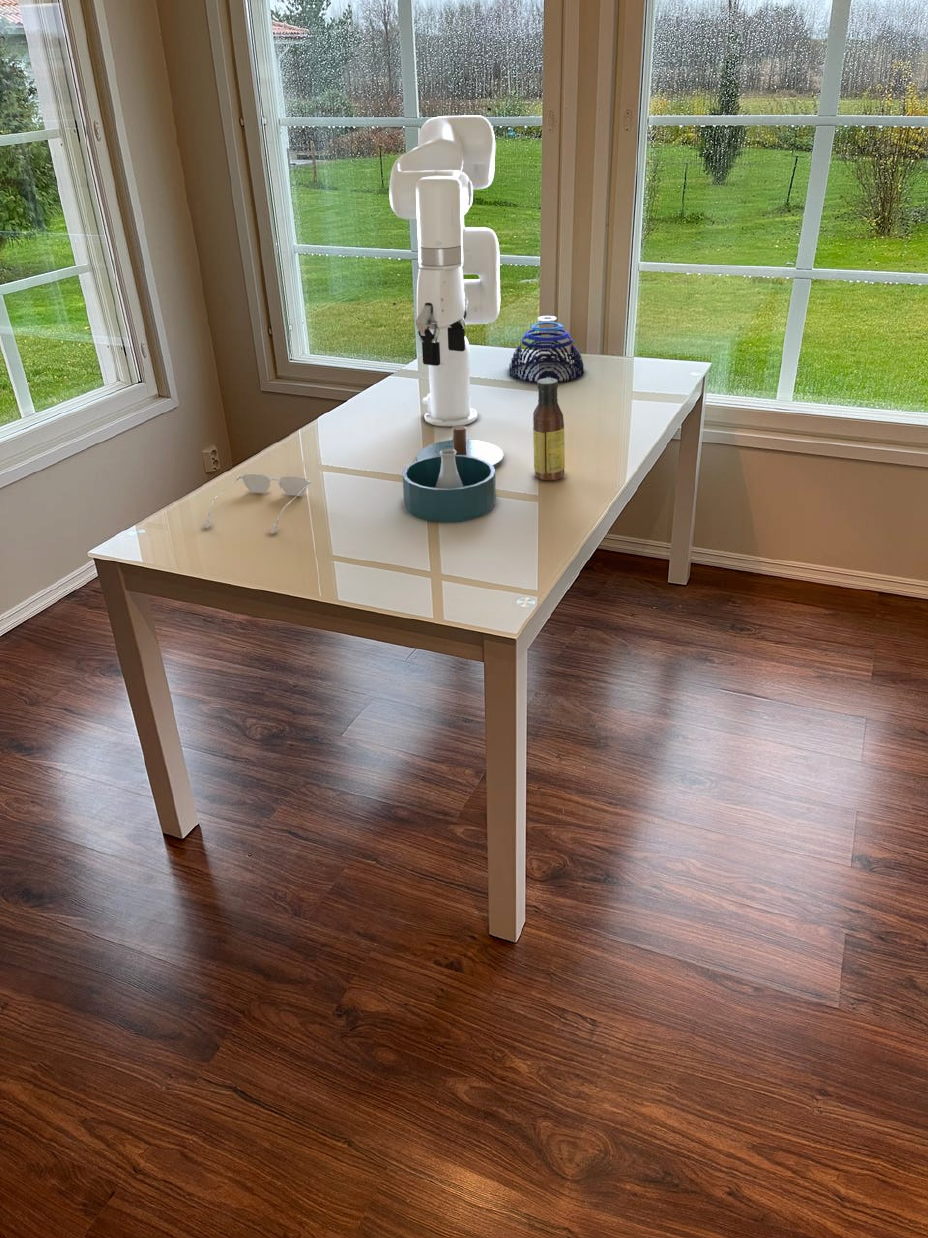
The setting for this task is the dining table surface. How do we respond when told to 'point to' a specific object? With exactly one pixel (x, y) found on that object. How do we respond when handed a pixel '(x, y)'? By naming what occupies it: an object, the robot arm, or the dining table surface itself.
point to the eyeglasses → (262, 483)
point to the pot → (449, 490)
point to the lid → (464, 448)
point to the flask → (448, 471)
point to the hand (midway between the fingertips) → (444, 357)
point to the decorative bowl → (576, 357)
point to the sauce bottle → (548, 432)
